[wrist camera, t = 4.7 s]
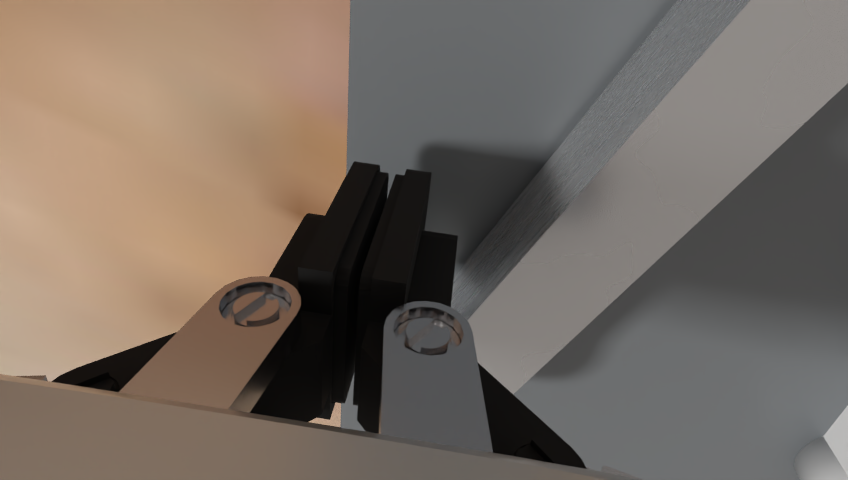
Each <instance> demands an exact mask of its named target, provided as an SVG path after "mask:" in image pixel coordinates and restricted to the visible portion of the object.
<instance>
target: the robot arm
mask: <svg viewBox="0 0 848 480" xmlns="http://www.w3.org/2000/svg"><path fill="white" fill-rule="evenodd" d="M431 174H432V173H431V172H425V171H418V170H411V169H406V172H405V175H399V174H396V175H395V178H394V180H393V183H392V186H391V189H390V192H389V195H388V198H387V193H388V181H389V174H388V173H385V172H380V165H376V164H369V163H363V162H356V161H354V162H353V164H352V166H351V168H350V170H349V171H348V173H347V175H346V177H345V179H344V181H343V183H342V185H341V187H340V189H339V190H338V192H337V194H336V196H335V198H334V200H333V202H332V204H331V206H330V207H329V209H328V211H327V213H326V215H325V216H323V215H317V214H310V213H309V214H306V216H305V217H304V218H303V220H302V222H301V224H300V225H299V227H298V229H297V230H296V232H295V234H294V235H293V237H292V239H291V240H290V242H289V244H288V246H287V247H286V249H285V251H284V252H283V254H282V256H281V257H280V259H279V261H278V262H277V264H276V266H275V268H274V269H273V271H272V273H271V274H270V276H269V277H266V276H260V277H248V278H244V279H239V280H236V281H234V282H232V283H229V284H227V285H225V286H224V287H223V288H221V289H220V290H219V291H217V292H216V293H215V294H214V295H213V296H212V297H211V298H210V299H209V300H208V301H207V302H206V303H205V304H204V305H203V306H202V307H201V308H200V309H199V310H198V311H197V312H196V314H195V315H194V316H193V317H192V318H191V319H190V320H189V321H188V322H187V323H186V324H185V325H184V326H183V327H182V328H181V329H180V330H179V331H178V332H176V333H173V334H170V335H168V336H165V337H162V338H159V339H156V340H154V341H151V342H148V343H145V344H142V345H140V346H137V347H134V348H131V349H128V350H126V351H123V352H120V353H117V354H114V355H112V356H109V357H106V358H103V359H100V360H98V361H95V362H92V363H89V364H86V365H84V366H81V367H78V368H76V369H73V370H71V371H69V372H67V373H65V374H62V375H60V376H59V377H57V378H56V379H54V380H53V381H52V382H49V381H47V378H46V375H44V376H9V375H2V374H0V480H643V479H640V478H638V477H635V476H632V475H630V474H627V473H624V472H621V471H619V470H616V469H613V468H610V467H608V466H605V465H603V467H602V469H601V471H597V470H594V469H591V468H589V467H586V466H585V464H584V462H583V460H582V459H581V458H580V457H579V455H578V454H577V453H576V452H575V451H574V450H573V449H572V447H571V446H570V445H568V444H567V443H566V442H565V441H564V440H563V439H562V438H561V437H560V436H559V435H557V434H556V433H555V432H554V431H553V430H552V429H551V428H550V427H549V426H547V425H546V424H545V423H544V422H543V421H542V420H541V419H540V418H539V417H538V416H536V415H535V414H534V413H533V412H532V411H531V410H530V409H529V408H528V407H526V406H525V405H524V404H523V403H522V402H521V401H520V400H519V399H518V398H517V397H515V396H514V395H513V394H512V393H511V392H510V391H509V390H508V389H507V388H506V387H504V386H503V385H502V384H501V383H500V382H499V381H498V380H497V379H496V378H494V377H493V376H492V375H491V374H490V373H489V372H488V371H487V370H486V369H485V368H483V367H482V366H481V365H480V364H479V363H478V361H477V355H476V349H475V343H474V337H473V332H472V329H471V327H470V324H469V322H468V321H467V320H466V319H465V318H464V316H463V315H462V314H460V313H459V312H457V311H456V310H454V309H453V308H451V301H452V291H453V281H454V271H455V261H456V251H457V241H458V235H452V234H445V233H438V232H431V231H425V223H426V215H427V207H428V199H429V191H430V183H431ZM353 375H354V389H353V405H356V406H358V411H357V421H358V422H359V424H360V425H361V426H362V427H363V429H364V430H365V431H366V432H365V431H359V430H353V429H347V428H341V427H334V426H328V425H322V424H316V423H310V422H309V421H311V420H313V419H314V418H316V417H317V418H324V419H330V418H331V414H332V411H333V408H334V405H335V402H338V403H345V402H346V399H347V396H348V392H349V389H350V385H351V382H352V378H353Z"/></svg>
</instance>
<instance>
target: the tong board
mask: <svg viewBox="0 0 848 480" xmlns="http://www.w3.org/2000/svg"><path fill="white" fill-rule="evenodd" d="M676 1H677V0H350V42H349V86H348V129H347V173H348V171H349V170H350V168H351V166H352V164H353V162H354V161H356V162H363V163H369V164H376V165H380V172H385V173H388V174H389V181H388V193H387V198H388V195H389V192H390V189H391V186H392V183H393V180H394V178H395V175H396V174H399V175H405V172H406V169H411V170H418V171H425V172H431V173H432V174H431V183H430V191H429V199H428V207H427V215H426V223H425V231H431V232H438V233H445V234H452V235H458V241H457V251H456V261H455V271H454V276H455V274H456V273H457V272H458V271H459V269H460V268H461V267H462V266H463V264H464V263H465V262H466V261H467V259H468V258H469V257H470V256H471V255H472V253H473V252H474V251H475V250H476V248H477V247H478V246H479V245H480V243H481V242H482V241H483V240H484V238H485V237H486V236H487V235H488V234H489V232H490V231H491V230H492V229H493V227H494V226H495V225H496V224H497V222H498V221H499V220H500V219H501V217H502V216H503V215H504V214H505V213H506V211H507V210H508V209H509V208H510V206H511V205H512V204H513V203H514V201H515V200H516V199H517V198H518V196H519V195H520V194H521V193H522V192H523V190H524V189H525V188H526V187H527V185H528V184H529V183H530V182H531V180H532V179H533V178H534V177H535V175H536V174H537V173H538V172H539V171H540V169H541V168H542V167H543V166H544V164H545V163H546V162H547V161H548V159H549V158H550V157H551V156H552V154H553V153H554V152H555V151H556V150H557V148H558V147H559V146H560V145H561V143H562V142H563V141H564V140H565V138H566V137H567V136H568V135H569V133H570V132H571V131H572V130H573V129H574V127H575V126H576V125H577V124H578V122H579V121H580V120H581V119H582V117H583V116H584V115H585V114H586V112H587V111H588V110H589V109H590V108H591V106H592V105H593V104H594V103H595V101H596V100H597V99H598V98H599V96H600V95H601V94H602V93H603V91H604V90H605V89H606V88H607V87H608V85H609V84H610V83H611V82H612V80H613V79H614V78H615V77H616V75H617V74H618V73H619V72H620V70H621V69H622V68H623V67H624V66H625V64H626V63H627V62H628V61H629V59H630V58H631V57H632V56H633V54H634V53H635V52H636V51H637V49H638V48H639V47H640V46H641V45H642V43H643V42H644V41H645V40H646V38H647V37H648V36H649V35H650V33H651V32H652V31H653V30H654V28H655V27H656V26H657V25H658V24H659V22H660V21H661V20H662V19H663V17H664V16H665V15H666V14H667V12H668V11H669V10H670V9H671V7H672V6H673V5H674V4H675V3H676ZM347 173H346V175H347ZM353 389H354V375H353V378H352V382H351V385H350V389H349V392H348V396H347V399H346V402H345V403H341V428H347V429H353V430H359V431H365V430H364V429H363V427H362V426H361V425H360V424H359V422H358V421H357V411H358V406H356V405H353ZM513 395H514V396H515V397H517V398H518V399H519V400H520V401H521V402H522V403H523V404H524V405H525V406H526V407H528V408H529V409H530V410H531V411H532V412H533V413H534V414H535V415H536V416H538V417H539V418H540V419H541V420H542V421H543V422H544V423H545V424H546V425H547V426H549V427H550V428H551V429H552V430H553V431H554V432H555V433H556V434H557V435H559V436H560V437H561V438H562V439H563V440H564V441H565V442H566V443H567V444H568V445H570V446H571V447H572V449H573V450H574V451H575V452H576V453H577V454H578V455H579V457H580V458H581V459H582V460H583V462H584V464H585V466H586V467H589V468H591V469H594V470H597V471H601V469H602V467H603V465H605V466H608V467H610V468H613V469H616V470H619V471H621V472H624V473H627V474H630V475H632V476H635V477H638V478H640V479H643V480H848V83H847V84H846V85H845V86H844V87H843V88H842V89H841V90H840V91H839V92H838V93H837V94H836V95H835V96H833V97H832V98H831V99H830V100H829V101H828V102H827V103H826V104H825V105H824V106H823V107H822V108H821V109H819V110H818V111H817V112H816V113H815V114H814V115H813V116H812V117H811V118H810V119H809V120H808V121H807V122H805V123H804V124H803V125H802V126H801V127H800V128H799V129H798V130H797V131H796V132H795V133H794V134H793V135H792V136H790V137H789V138H788V139H787V140H786V141H785V142H784V143H783V144H782V145H781V146H780V147H779V148H778V149H776V150H775V151H774V152H773V153H772V154H771V155H770V156H769V157H768V158H767V159H766V160H765V161H764V162H762V163H761V164H760V165H759V166H758V167H757V168H756V169H755V170H754V171H753V172H752V173H751V174H750V175H748V176H747V177H746V178H745V179H744V180H743V181H742V182H741V183H740V184H739V185H738V186H737V187H736V188H735V189H733V190H732V191H731V192H730V193H729V194H728V195H727V196H726V197H725V198H724V199H723V200H722V201H721V202H719V203H718V204H717V205H716V206H715V207H714V208H713V209H712V210H711V211H710V212H709V213H708V214H707V215H705V216H704V217H703V218H702V219H701V220H700V221H699V222H698V223H697V224H696V225H695V226H694V227H693V228H692V229H690V230H689V231H688V232H687V233H686V234H685V235H684V236H683V237H682V238H681V239H680V240H679V241H678V242H676V243H675V244H674V245H673V246H672V247H671V248H670V249H669V250H668V251H667V252H666V253H665V254H664V255H662V256H661V257H660V258H659V259H658V260H657V261H656V262H655V263H654V264H653V265H652V266H651V267H650V268H649V269H647V270H646V271H645V272H644V273H643V274H642V275H641V276H640V277H639V278H638V279H637V280H636V281H635V282H633V283H632V284H631V285H630V286H629V287H628V288H627V289H626V290H625V291H624V292H623V293H622V294H621V295H619V296H618V297H617V298H616V299H615V300H614V301H613V302H612V303H611V304H610V305H609V306H608V307H607V308H606V309H604V310H603V311H602V312H601V313H600V314H599V315H598V316H597V317H596V318H595V319H594V320H593V321H592V322H590V323H589V324H588V325H587V326H586V327H585V328H584V329H583V330H582V331H581V332H580V333H579V334H578V335H576V336H575V337H574V338H573V339H572V340H571V341H570V342H569V343H568V344H567V345H566V346H565V347H564V348H563V349H561V350H560V351H559V352H558V353H557V354H556V355H555V356H554V357H553V358H552V359H551V360H550V361H549V362H547V363H546V364H545V365H544V366H543V367H542V368H541V369H540V370H539V371H538V372H537V373H536V374H535V375H533V376H532V377H531V378H530V379H529V380H528V381H527V382H526V383H525V384H524V385H523V386H522V387H521V388H519V389H518V390H517V391H516V392H515V393H514V394H513ZM365 432H366V431H365Z"/></svg>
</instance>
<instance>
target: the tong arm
mask: <svg viewBox="0 0 848 480" xmlns="http://www.w3.org/2000/svg"><path fill="white" fill-rule="evenodd" d="M847 83H848V0H677V1H676V3H675V4H674V5H673V6H672V7H671V9H670V10H669V11H668V12H667V14H666V15H665V16H664V17H663V19H662V20H661V21H660V22H659V24H658V25H657V26H656V27H655V28H654V30H653V31H652V32H651V33H650V35H649V36H648V37H647V38H646V40H645V41H644V42H643V43H642V45H641V46H640V47H639V48H638V49H637V51H636V52H635V53H634V54H633V56H632V57H631V58H630V59H629V61H628V62H627V63H626V64H625V66H624V67H623V68H622V69H621V70H620V72H619V73H618V74H617V75H616V77H615V78H614V79H613V80H612V82H611V83H610V84H609V85H608V87H607V88H606V89H605V90H604V91H603V93H602V94H601V95H600V96H599V98H598V99H597V100H596V101H595V103H594V104H593V105H592V106H591V108H590V109H589V110H588V111H587V112H586V114H585V115H584V116H583V117H582V119H581V120H580V121H579V122H578V124H577V125H576V126H575V127H574V129H573V130H572V131H571V132H570V133H569V135H568V136H567V137H566V138H565V140H564V141H563V142H562V143H561V145H560V146H559V147H558V148H557V150H556V151H555V152H554V153H553V154H552V156H551V157H550V158H549V159H548V161H547V162H546V163H545V164H544V166H543V167H542V168H541V169H540V171H539V172H538V173H537V174H536V175H535V177H534V178H533V179H532V180H531V182H530V183H529V184H528V185H527V187H526V188H525V189H524V190H523V192H522V193H521V194H520V195H519V196H518V198H517V199H516V200H515V201H514V203H513V204H512V205H511V206H510V208H509V209H508V210H507V211H506V213H505V214H504V215H503V216H502V217H501V219H500V220H499V221H498V222H497V224H496V225H495V226H494V227H493V229H492V230H491V231H490V232H489V234H488V235H487V236H486V237H485V238H484V240H483V241H482V242H481V243H480V245H479V246H478V247H477V248H476V250H475V251H474V252H473V253H472V255H471V256H470V257H469V258H468V259H467V261H466V262H465V263H464V264H463V266H462V267H461V268H460V269H459V271H458V272H457V273H456V274H455V276H454V281H453V291H452V301H451V308H453V309H454V310H456V311H457V312H459V313H460V314H462V315H463V316H464V318H465V319H466V320H467V321H468V322H469V324H470V327H471V329H472V332H473V337H474V343H475V349H476V355H477V361H478V363H479V364H480V365H481V366H482V367H483V368H485V369H486V370H487V371H488V372H489V373H490V374H491V375H492V376H493V377H494V378H496V379H497V380H498V381H499V382H500V383H501V384H502V385H503V386H504V387H506V388H507V389H508V390H509V391H510V392H511V393H512V394H514V393H515V392H516V391H517V390H518V389H519V388H521V387H522V386H523V385H524V384H525V383H526V382H527V381H528V380H529V379H530V378H531V377H532V376H533V375H535V374H536V373H537V372H538V371H539V370H540V369H541V368H542V367H543V366H544V365H545V364H546V363H547V362H549V361H550V360H551V359H552V358H553V357H554V356H555V355H556V354H557V353H558V352H559V351H560V350H561V349H563V348H564V347H565V346H566V345H567V344H568V343H569V342H570V341H571V340H572V339H573V338H574V337H575V336H576V335H578V334H579V333H580V332H581V331H582V330H583V329H584V328H585V327H586V326H587V325H588V324H589V323H590V322H592V321H593V320H594V319H595V318H596V317H597V316H598V315H599V314H600V313H601V312H602V311H603V310H604V309H606V308H607V307H608V306H609V305H610V304H611V303H612V302H613V301H614V300H615V299H616V298H617V297H618V296H619V295H621V294H622V293H623V292H624V291H625V290H626V289H627V288H628V287H629V286H630V285H631V284H632V283H633V282H635V281H636V280H637V279H638V278H639V277H640V276H641V275H642V274H643V273H644V272H645V271H646V270H647V269H649V268H650V267H651V266H652V265H653V264H654V263H655V262H656V261H657V260H658V259H659V258H660V257H661V256H662V255H664V254H665V253H666V252H667V251H668V250H669V249H670V248H671V247H672V246H673V245H674V244H675V243H676V242H678V241H679V240H680V239H681V238H682V237H683V236H684V235H685V234H686V233H687V232H688V231H689V230H690V229H692V228H693V227H694V226H695V225H696V224H697V223H698V222H699V221H700V220H701V219H702V218H703V217H704V216H705V215H707V214H708V213H709V212H710V211H711V210H712V209H713V208H714V207H715V206H716V205H717V204H718V203H719V202H721V201H722V200H723V199H724V198H725V197H726V196H727V195H728V194H729V193H730V192H731V191H732V190H733V189H735V188H736V187H737V186H738V185H739V184H740V183H741V182H742V181H743V180H744V179H745V178H746V177H747V176H748V175H750V174H751V173H752V172H753V171H754V170H755V169H756V168H757V167H758V166H759V165H760V164H761V163H762V162H764V161H765V160H766V159H767V158H768V157H769V156H770V155H771V154H772V153H773V152H774V151H775V150H776V149H778V148H779V147H780V146H781V145H782V144H783V143H784V142H785V141H786V140H787V139H788V138H789V137H790V136H792V135H793V134H794V133H795V132H796V131H797V130H798V129H799V128H800V127H801V126H802V125H803V124H804V123H805V122H807V121H808V120H809V119H810V118H811V117H812V116H813V115H814V114H815V113H816V112H817V111H818V110H819V109H821V108H822V107H823V106H824V105H825V104H826V103H827V102H828V101H829V100H830V99H831V98H832V97H833V96H835V95H836V94H837V93H838V92H839V91H840V90H841V89H842V88H843V87H844V86H845V85H846V84H847Z"/></svg>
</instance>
